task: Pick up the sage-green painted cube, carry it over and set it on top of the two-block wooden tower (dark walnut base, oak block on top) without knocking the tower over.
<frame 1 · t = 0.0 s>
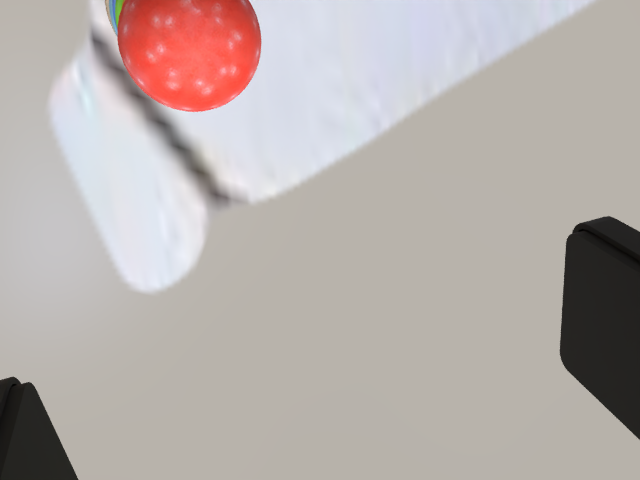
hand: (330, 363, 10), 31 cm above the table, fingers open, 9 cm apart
stacking toy: (176, 3, 36), on the table
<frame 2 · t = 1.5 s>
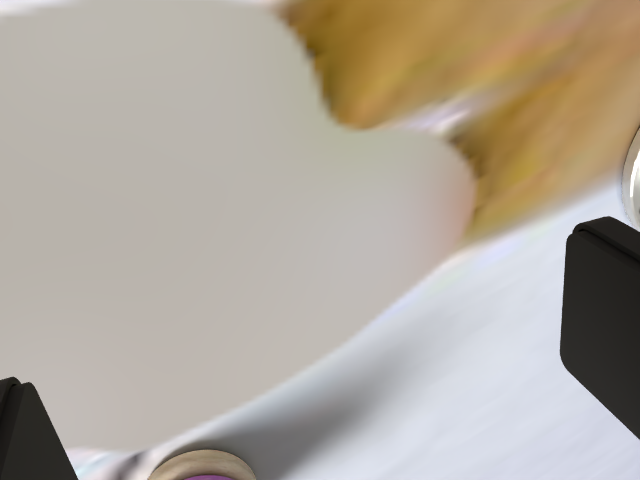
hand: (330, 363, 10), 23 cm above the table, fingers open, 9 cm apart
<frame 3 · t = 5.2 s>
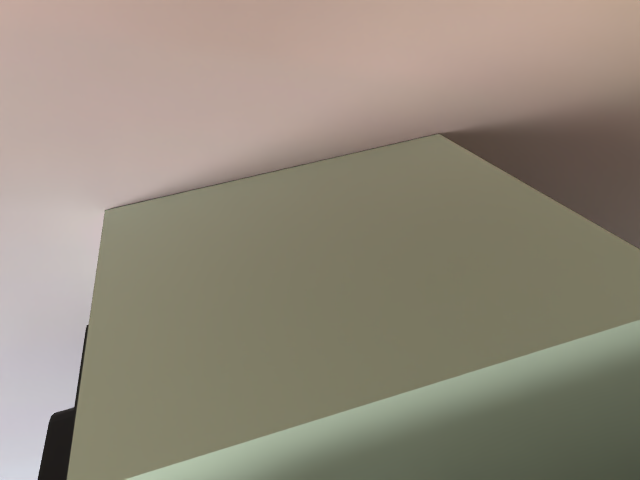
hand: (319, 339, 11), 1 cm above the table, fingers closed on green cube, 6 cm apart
green cube: (306, 312, 12), on the table, touching gripper
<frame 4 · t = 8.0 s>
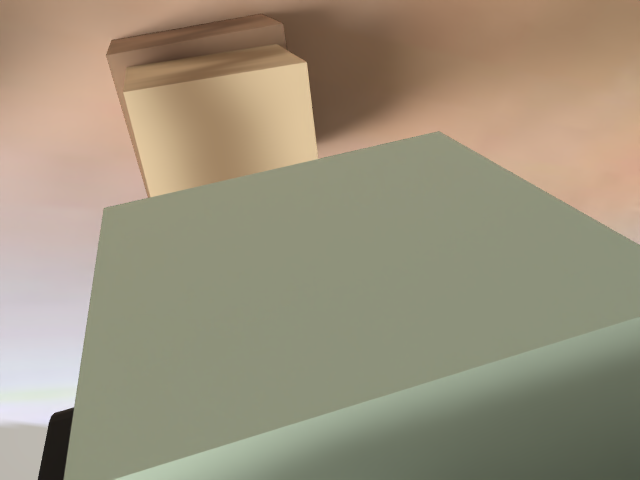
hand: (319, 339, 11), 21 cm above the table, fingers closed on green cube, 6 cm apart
tower base: (204, 100, 29), on the table, touching tower top
tower top: (217, 128, 25), point 5 cm above the table, touching tower base
green cube: (306, 310, 12), point 20 cm above the table, touching gripper
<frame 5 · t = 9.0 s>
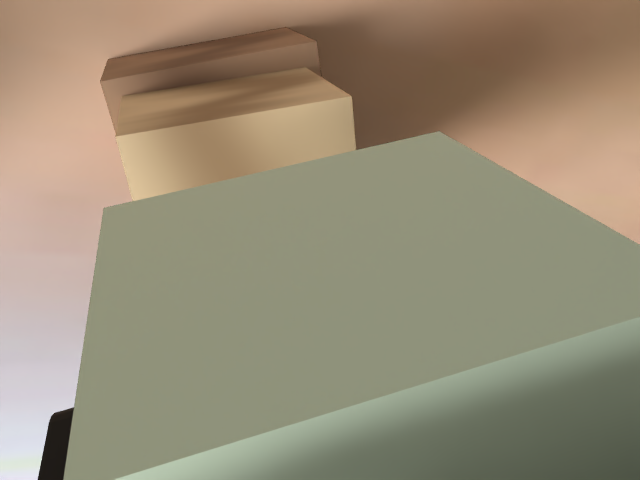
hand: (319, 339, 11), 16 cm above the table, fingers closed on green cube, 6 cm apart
tower base: (217, 128, 25), on the table, touching tower top
tower top: (232, 168, 21), point 5 cm above the table, touching tower base
green cube: (306, 310, 12), point 15 cm above the table, touching gripper
when the fingers open (12 cm above the table, at t = 10.8 s): green cube stays where it is, resting on tower top.
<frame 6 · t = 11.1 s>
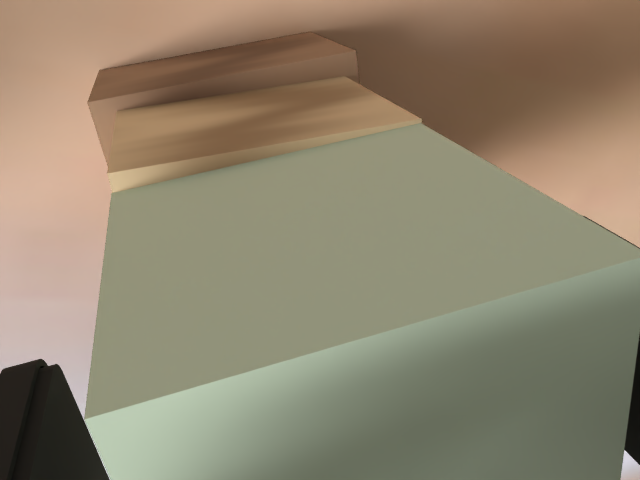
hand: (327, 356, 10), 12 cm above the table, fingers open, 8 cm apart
tower base: (229, 150, 21), on the table, touching tower top
tower top: (251, 198, 17), point 5 cm above the table, touching green cube, tower base
green cube: (298, 290, 12), point 10 cm above the table, touching tower top
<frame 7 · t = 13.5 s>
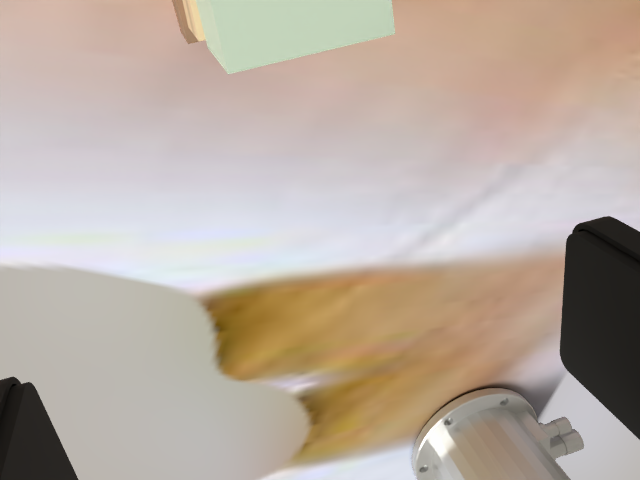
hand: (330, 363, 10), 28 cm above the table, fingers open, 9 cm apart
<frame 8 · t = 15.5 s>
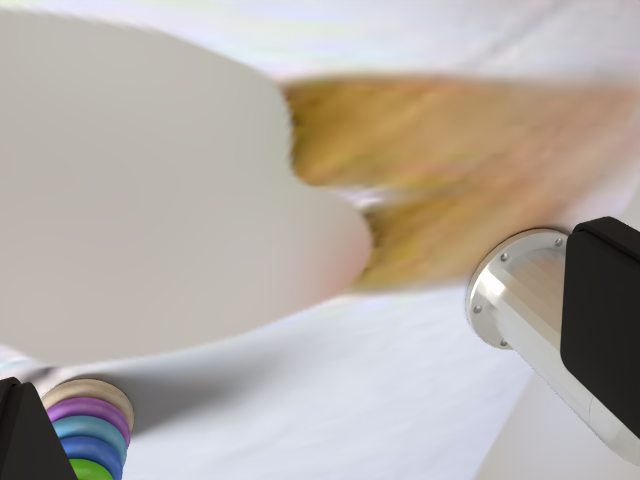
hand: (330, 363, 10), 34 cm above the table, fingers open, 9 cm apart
stacking toy: (84, 412, 49), on the table
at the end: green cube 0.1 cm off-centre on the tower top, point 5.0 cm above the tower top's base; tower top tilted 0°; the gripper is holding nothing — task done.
